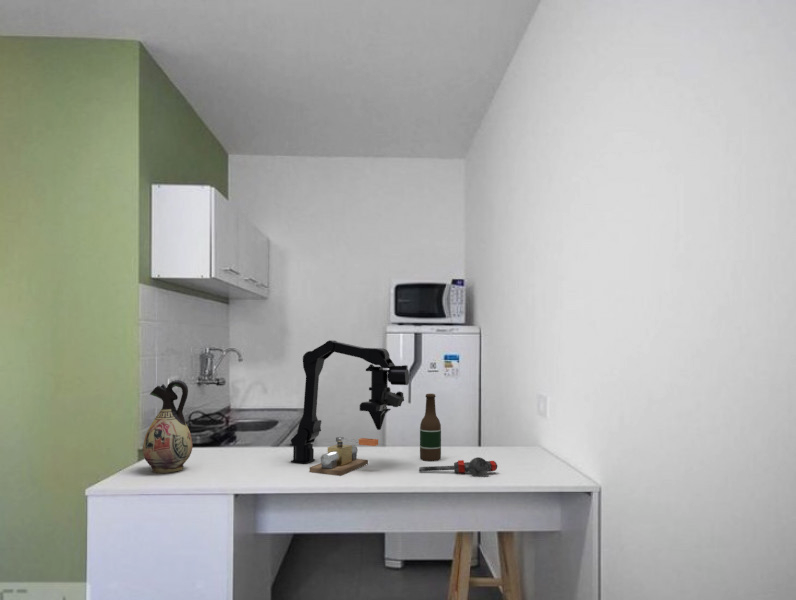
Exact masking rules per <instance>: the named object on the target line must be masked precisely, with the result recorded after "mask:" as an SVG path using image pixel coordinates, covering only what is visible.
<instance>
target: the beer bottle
mask: <svg viewBox="0 0 796 600" xmlns="http://www.w3.org/2000/svg"><path fill="white" fill-rule="evenodd" d="M436 397H437V395H436V394H435V393H427V394H425V398H426V399H425V410H424V411H425V413H424V416H423V418H422V419H421V421H420V425H419V459H420V460H421V461H424V462H439V461H440V460H441V459H442V428H441V427H442V424H441V422H440V421H441V420H440V419H439V418H438V416H437V412H436Z"/></svg>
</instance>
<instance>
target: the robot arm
mask: <svg viewBox="0 0 796 600" xmlns="http://www.w3.org/2000/svg"><path fill="white" fill-rule="evenodd" d="M334 353H336V354H337V353H338V354H342V355H346V356H351V357H355V358H359V359H362V360H364V361H366V362H367V363H370V364H369V365H368V367H367V368H365V372H371V378H370V380H371V381H370V383H371V384H370V385H371V386H370V387H368V391H370V398H369V399H368V401H362V402H360V404H359V411H360V412H367V413H368V414H369V416H370V417H371V419H372V422H373V424H374V426H375V428H376V430H378V431H381V429H382V426H383V424H384V420H385V417H386V415H387V413H388V412H389V411H391V408H388V407H393V408H398V407H401V406H402V403H403V402H404V401H405V397H404V392H403V391H397V392H392V391H391V387H390V386H388V383H390V384H391V385H392V386H395V385H396V386H408V385H409V384H410V372H409V365H408V364H407V365H406V364H404V365H396V364H394V362H393V360H392V359H391V357H390V356H391V355H390V353H389V351H388V350H387V349H386V348H380V347H379V348H378V347H377V348H375V347H362V346H357V345H355V344H354V345H353V344H349V343H344V342H340V341H337V340H330V339H329V340H328V341H325V343H323V344H322V345H319V346H317V347H316V348H315V349H313V350H311V351H310V350H308V351H306V352H305V353H304V354H303V356H302V366H303V367H302V369H303V371H304V373H305V386H304V399H303V412H302V413H303V414H302V417H301V419H300V421H299V423H298V427H297V432H296V434H295V435H294V436H293V437H292V438H291V439H290V443H291V446H293V450H292V451H293V452H292V453H293V454H292V455H293V456H292V458H293V459H291V460H290V463H295V464H296V463H297V464H305V465H306V464H308V463H311V462H314V461H316V459H315V458H314V451H315V450H314V449H315V448H313V447H314V446H313V445H314V444H313V443H314V442H315V441H316V438H317V437H319V435H320V433H321V431H322V429H321V426H322V425H321V424H322V420H320V419H319V420H318V416H317V411H318V410H317V408H318V396H319V395H318V394H319V380H320V379H319V378H320V375H321V372H322V371H323V368H324V364H325V360H326V359H328V358H329V357H330V356H332V355H333V354H334Z"/></svg>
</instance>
